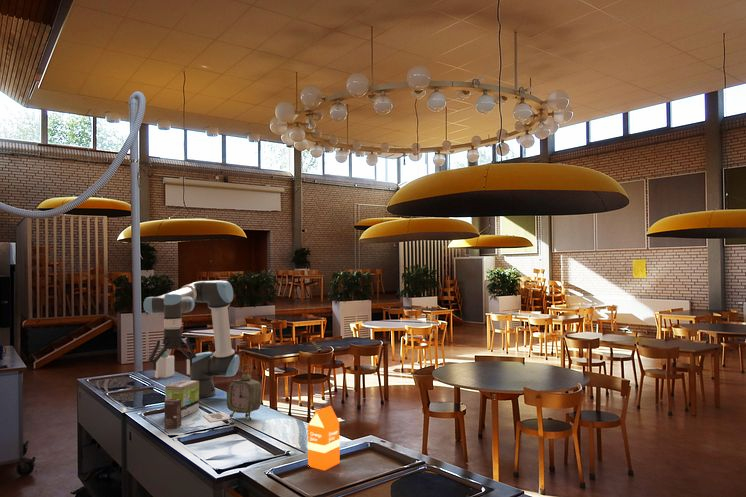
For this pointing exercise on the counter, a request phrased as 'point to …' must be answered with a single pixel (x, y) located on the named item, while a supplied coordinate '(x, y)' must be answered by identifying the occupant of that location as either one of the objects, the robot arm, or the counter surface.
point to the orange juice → (323, 439)
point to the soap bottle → (165, 365)
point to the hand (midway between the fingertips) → (172, 375)
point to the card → (217, 417)
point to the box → (172, 413)
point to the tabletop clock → (244, 394)
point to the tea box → (184, 395)
